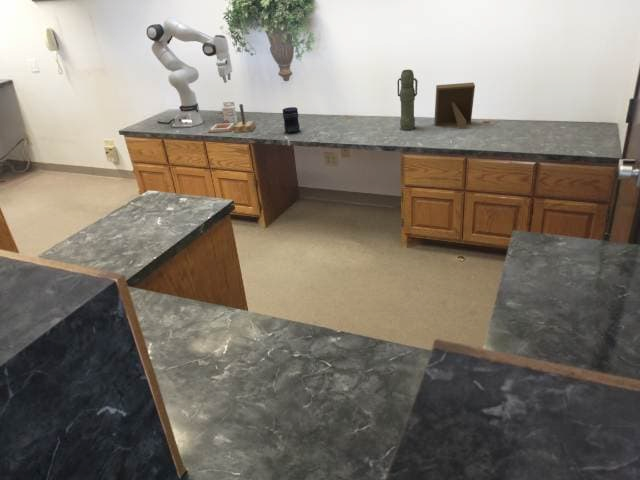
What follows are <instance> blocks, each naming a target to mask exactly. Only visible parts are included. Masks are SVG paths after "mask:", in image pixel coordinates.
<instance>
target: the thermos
mask: <svg viewBox="0 0 640 480" xmlns="http://www.w3.org/2000/svg"><path fill="white" fill-rule="evenodd" d="M418 82H419V81H418V79H417V78H416V77H415V75H414V71H413V70H412V69H403V70H402V71H401V75H400V77H399V78H398V79H397V96H398V97H399V101H400V119H399V122H400V123H399V124H400V125H399V126H400V130H402V131H413V130H415V124H416V118H415V100H416V96H417V95H418ZM414 84H415V85H414Z"/></svg>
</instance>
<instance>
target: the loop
mask: <svg viewBox="0 0 640 480" xmlns="http://www.w3.org/2000/svg"><path fill="white" fill-rule="evenodd" d="M235 125H236V124H234V123H227V124H225V123H215V124H214V125H213V126H211V128H209V131H210V132H216V133H223V132H222V131H230V130H231V129H232V128H233V127H234V126H235ZM217 127H227V128H217ZM216 128H217V129H216Z"/></svg>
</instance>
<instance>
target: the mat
mask: <svg viewBox="0 0 640 480" xmlns="http://www.w3.org/2000/svg"><path fill="white" fill-rule="evenodd" d="M217 128H227V127H217ZM217 128H216V129H217ZM232 131H234V128H232V129H231V130H230V131H222V132H221V133H231V132H232ZM215 133H217V132H210V130H209V131H208V134H215Z"/></svg>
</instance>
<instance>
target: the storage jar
mask: <svg viewBox="0 0 640 480" xmlns="http://www.w3.org/2000/svg"><path fill="white" fill-rule="evenodd" d="M282 118H283V122H284V123H283V126H284V131H285V132H284V133H285V134H286V135H295V134H299V133H300V132H301V130H300V129H301V128H300V123H299V122H300V121H299V110H298V107H295V106H289V107H285V108H283V109H282Z"/></svg>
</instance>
